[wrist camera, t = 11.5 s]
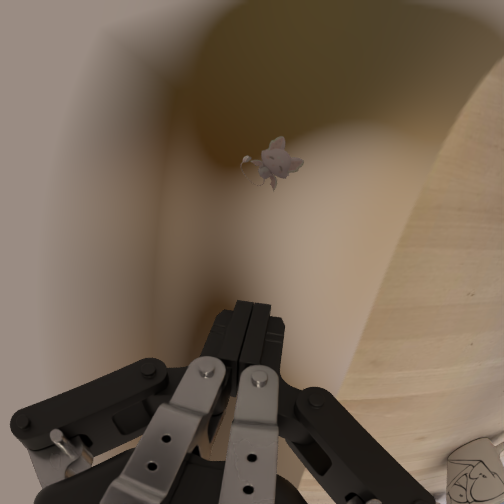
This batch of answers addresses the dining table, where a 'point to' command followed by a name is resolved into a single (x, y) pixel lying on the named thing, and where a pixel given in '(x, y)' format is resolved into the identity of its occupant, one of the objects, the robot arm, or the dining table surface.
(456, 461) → the mug
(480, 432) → the dining table surface
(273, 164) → the toy
